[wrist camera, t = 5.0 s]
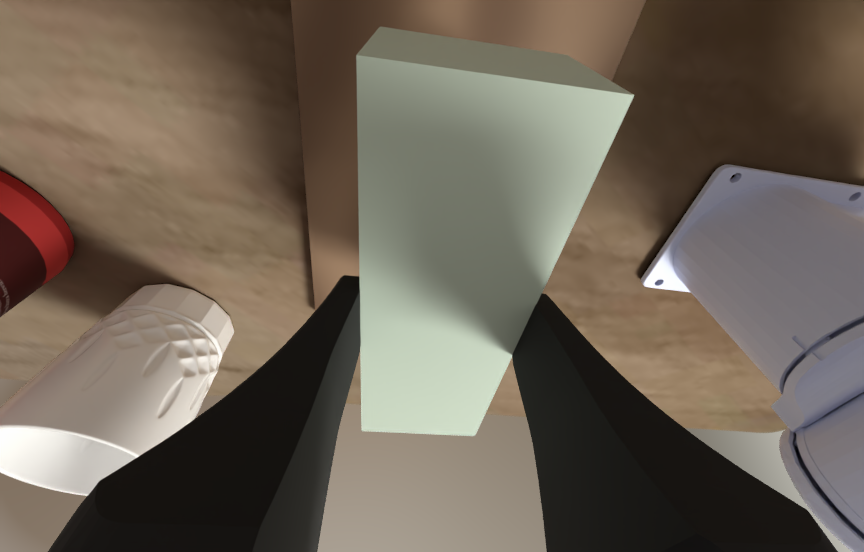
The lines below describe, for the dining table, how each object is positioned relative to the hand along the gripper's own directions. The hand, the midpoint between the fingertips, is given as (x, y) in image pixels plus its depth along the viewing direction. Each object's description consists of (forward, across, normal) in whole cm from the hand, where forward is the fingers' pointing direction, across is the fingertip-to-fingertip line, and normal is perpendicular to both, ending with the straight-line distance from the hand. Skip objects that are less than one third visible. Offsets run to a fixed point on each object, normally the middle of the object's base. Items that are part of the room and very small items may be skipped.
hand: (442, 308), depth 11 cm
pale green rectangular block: (+3, 0, 0) cm, 3 cm away
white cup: (+10, +16, +12) cm, 23 cm away
